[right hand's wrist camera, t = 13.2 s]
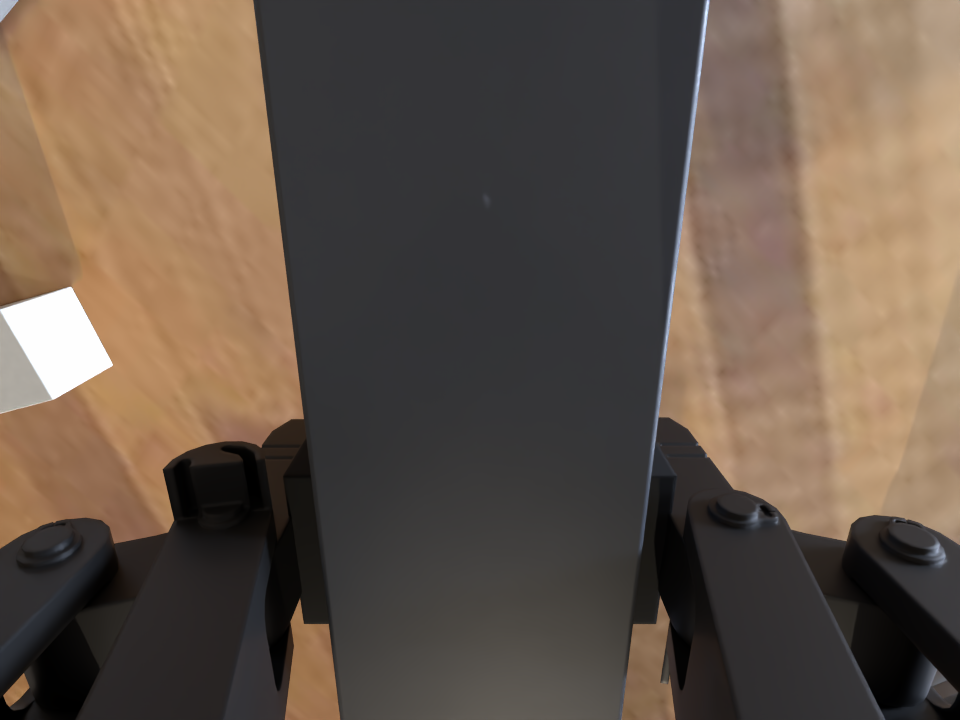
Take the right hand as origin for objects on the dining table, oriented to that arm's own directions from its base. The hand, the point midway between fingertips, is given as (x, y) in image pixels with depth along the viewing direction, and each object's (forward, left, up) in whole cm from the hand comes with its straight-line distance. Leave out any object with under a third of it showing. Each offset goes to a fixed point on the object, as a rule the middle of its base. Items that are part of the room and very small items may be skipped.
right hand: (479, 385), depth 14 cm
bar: (0, -9, 0) cm, 9 cm away
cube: (+20, +2, -12) cm, 23 cm away
